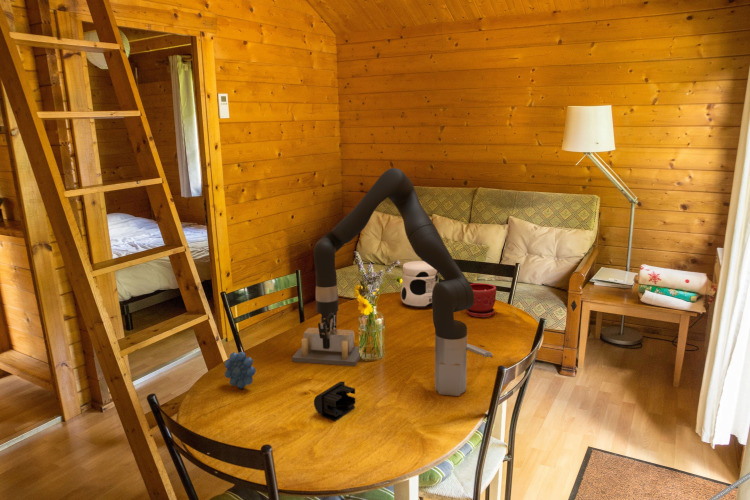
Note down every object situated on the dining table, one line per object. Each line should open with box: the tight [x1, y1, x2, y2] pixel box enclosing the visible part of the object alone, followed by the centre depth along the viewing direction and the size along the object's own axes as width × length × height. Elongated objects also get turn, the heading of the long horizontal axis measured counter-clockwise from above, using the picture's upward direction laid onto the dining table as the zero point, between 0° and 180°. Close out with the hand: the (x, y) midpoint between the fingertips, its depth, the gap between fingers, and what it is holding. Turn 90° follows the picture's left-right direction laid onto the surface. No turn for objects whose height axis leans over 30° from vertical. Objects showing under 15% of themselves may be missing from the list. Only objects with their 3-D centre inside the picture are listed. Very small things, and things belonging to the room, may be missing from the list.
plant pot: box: [465, 282, 497, 318], centre depth 228 cm, size 13×13×12 cm
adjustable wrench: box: [467, 342, 493, 358], centre depth 195 cm, size 25×6×2 cm, turn 33°
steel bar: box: [303, 327, 354, 352], centre depth 188 cm, size 5×16×6 cm, turn 77°
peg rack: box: [291, 330, 361, 367], centre depth 189 cm, size 13×22×8 cm, turn 77°
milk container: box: [400, 260, 439, 309], centre depth 242 cm, size 17×17×18 cm
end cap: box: [313, 381, 356, 422], centre depth 152 cm, size 10×7×7 cm
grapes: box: [224, 351, 256, 389], centre depth 167 cm, size 12×7×12 cm, turn 63°
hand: (328, 345), depth 189 cm, fingers closed on steel bar, 5 cm apart
